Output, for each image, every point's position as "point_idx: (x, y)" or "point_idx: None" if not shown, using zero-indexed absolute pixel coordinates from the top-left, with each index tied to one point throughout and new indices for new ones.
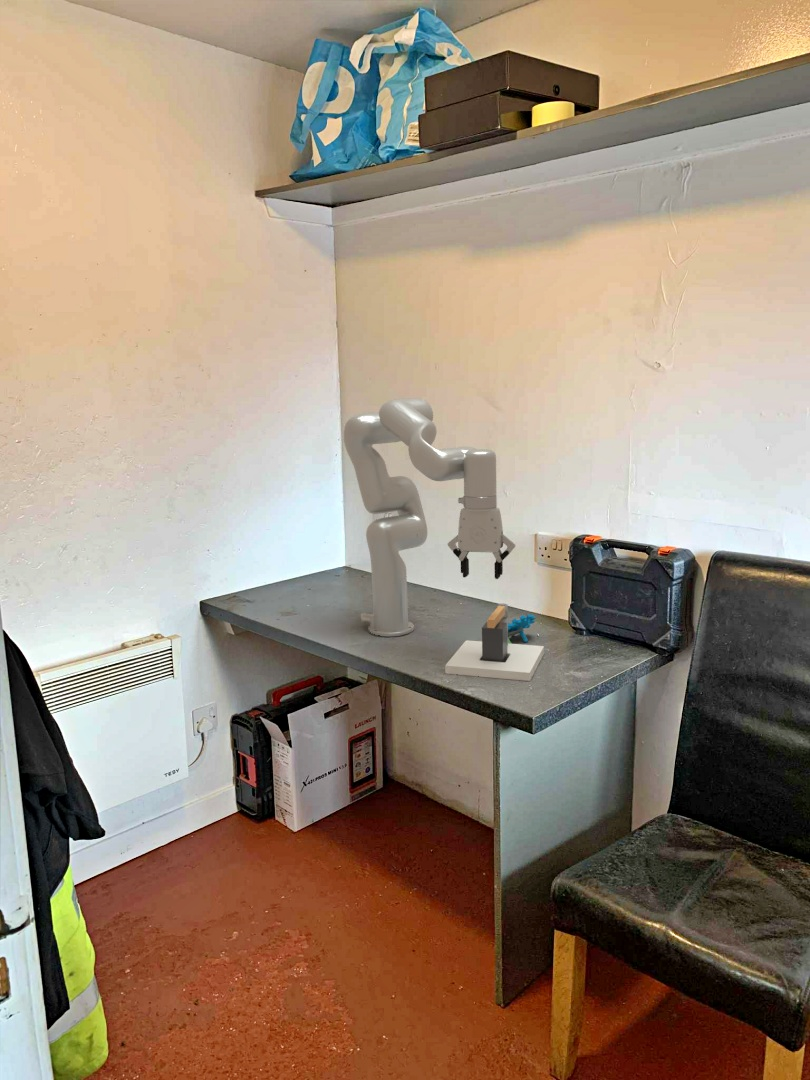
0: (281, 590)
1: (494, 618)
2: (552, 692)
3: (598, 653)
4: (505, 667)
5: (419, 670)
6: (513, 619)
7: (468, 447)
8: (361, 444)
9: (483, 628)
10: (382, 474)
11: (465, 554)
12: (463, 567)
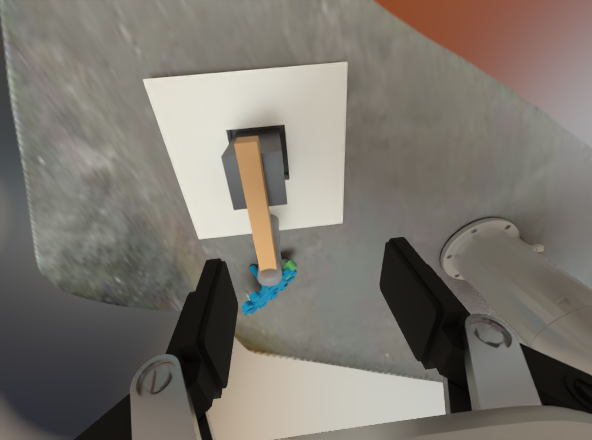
0: None
1: (240, 161)
2: (61, 17)
3: (122, 260)
4: (211, 97)
5: (402, 63)
6: (268, 286)
7: None
8: None
9: (277, 150)
10: None
11: (480, 375)
12: (428, 274)
